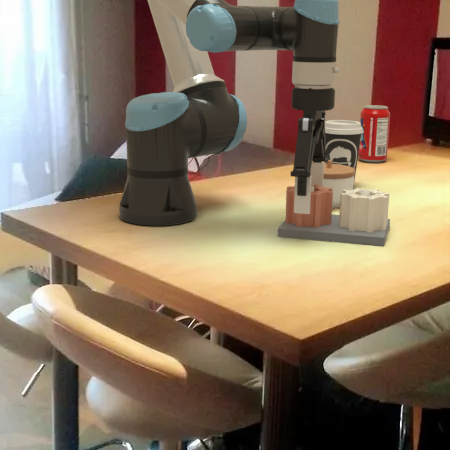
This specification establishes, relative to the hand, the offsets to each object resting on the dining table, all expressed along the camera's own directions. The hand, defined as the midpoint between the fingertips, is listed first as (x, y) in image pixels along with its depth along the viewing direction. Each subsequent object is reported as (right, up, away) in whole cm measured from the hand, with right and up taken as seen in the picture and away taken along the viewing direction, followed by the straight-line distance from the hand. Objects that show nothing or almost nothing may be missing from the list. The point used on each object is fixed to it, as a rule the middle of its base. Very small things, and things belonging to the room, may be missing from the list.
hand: (308, 204), depth 135 cm
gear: (0, -3, +1) cm, 3 cm away
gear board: (+5, -5, 0) cm, 7 cm away
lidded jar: (+6, 0, +20) cm, 21 cm away
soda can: (+25, +14, +69) cm, 74 cm away
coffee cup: (+11, +5, +36) cm, 38 cm away
